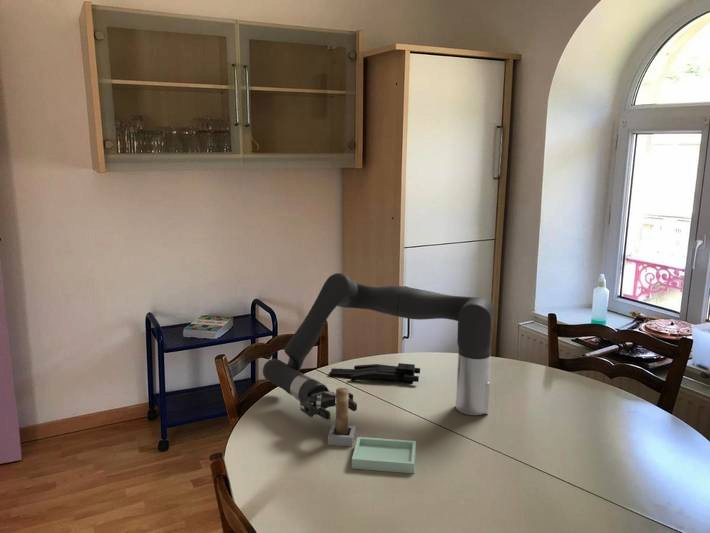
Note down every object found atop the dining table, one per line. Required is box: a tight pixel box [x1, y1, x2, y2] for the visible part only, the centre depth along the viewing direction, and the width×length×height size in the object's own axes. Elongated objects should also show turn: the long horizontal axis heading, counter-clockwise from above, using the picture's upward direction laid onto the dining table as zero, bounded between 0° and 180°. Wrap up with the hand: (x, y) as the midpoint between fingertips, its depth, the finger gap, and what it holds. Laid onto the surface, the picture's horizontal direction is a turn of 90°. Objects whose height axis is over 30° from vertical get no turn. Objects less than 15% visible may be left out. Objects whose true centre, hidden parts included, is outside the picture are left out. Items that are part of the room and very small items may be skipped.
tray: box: [351, 436, 417, 474], centre depth 148 cm, size 15×11×2 cm
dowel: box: [335, 387, 349, 436], centre depth 156 cm, size 3×3×14 cm
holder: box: [327, 424, 357, 447], centre depth 157 cm, size 6×6×2 cm
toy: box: [329, 362, 421, 384], centre depth 198 cm, size 9×6×30 cm
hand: (342, 412), depth 155 cm, fingers open, 8 cm apart
